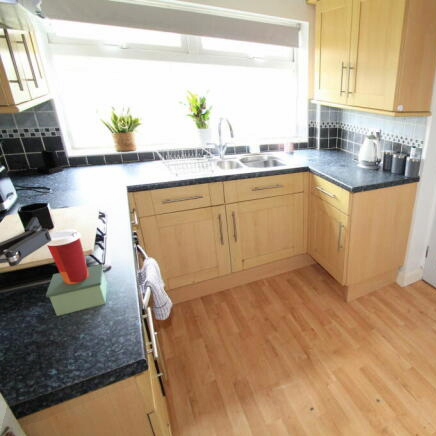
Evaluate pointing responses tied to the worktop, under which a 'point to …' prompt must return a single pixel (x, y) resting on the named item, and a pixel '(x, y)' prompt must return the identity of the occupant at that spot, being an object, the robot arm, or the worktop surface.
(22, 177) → the worktop surface
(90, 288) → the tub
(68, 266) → the paper cup
